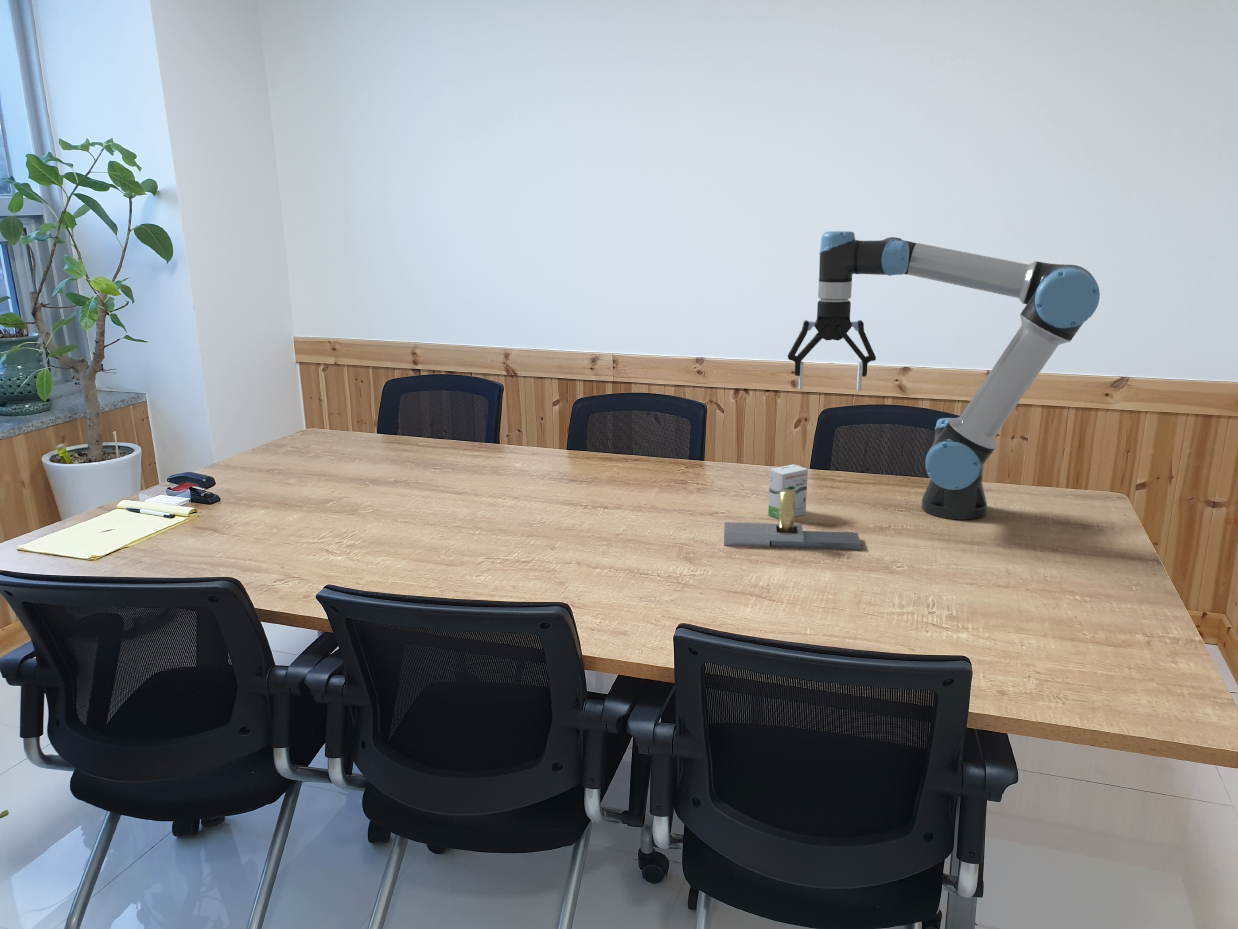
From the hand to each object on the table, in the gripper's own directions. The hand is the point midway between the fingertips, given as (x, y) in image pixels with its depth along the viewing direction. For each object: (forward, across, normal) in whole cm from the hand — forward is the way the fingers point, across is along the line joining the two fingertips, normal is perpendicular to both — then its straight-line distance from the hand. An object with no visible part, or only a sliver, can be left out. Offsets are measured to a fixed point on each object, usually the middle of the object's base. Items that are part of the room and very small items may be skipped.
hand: (829, 389), depth 217 cm
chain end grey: (+31, +15, +22) cm, 41 cm away
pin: (+31, +10, +22) cm, 39 cm away
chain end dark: (+31, +4, +22) cm, 38 cm away
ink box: (+31, +9, +3) cm, 32 cm away
